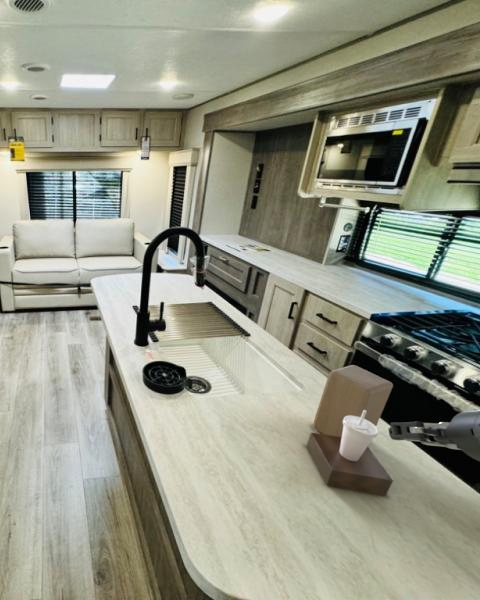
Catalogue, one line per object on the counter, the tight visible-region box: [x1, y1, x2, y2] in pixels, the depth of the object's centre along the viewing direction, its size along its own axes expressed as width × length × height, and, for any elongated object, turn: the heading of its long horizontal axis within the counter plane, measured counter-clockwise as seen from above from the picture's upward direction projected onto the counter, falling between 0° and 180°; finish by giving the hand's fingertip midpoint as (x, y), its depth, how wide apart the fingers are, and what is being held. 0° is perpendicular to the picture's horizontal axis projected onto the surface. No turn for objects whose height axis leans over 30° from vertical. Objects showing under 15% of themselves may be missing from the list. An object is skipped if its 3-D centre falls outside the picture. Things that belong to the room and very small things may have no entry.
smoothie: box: [339, 410, 379, 461], centre depth 75 cm, size 6×6×14 cm
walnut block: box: [306, 432, 394, 497], centre depth 78 cm, size 12×12×5 cm
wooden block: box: [312, 364, 394, 437], centre depth 86 cm, size 10×10×20 cm
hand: (419, 437), depth 57 cm, fingers open, 8 cm apart
